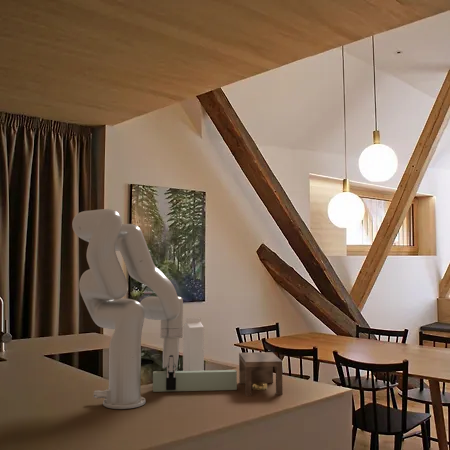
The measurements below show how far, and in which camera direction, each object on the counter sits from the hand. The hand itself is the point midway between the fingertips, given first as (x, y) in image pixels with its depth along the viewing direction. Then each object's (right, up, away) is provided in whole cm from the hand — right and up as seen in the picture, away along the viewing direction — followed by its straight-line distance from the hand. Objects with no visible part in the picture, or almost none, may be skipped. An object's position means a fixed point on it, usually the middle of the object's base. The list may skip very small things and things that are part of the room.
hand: (171, 388), depth 177 cm
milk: (+6, -3, +21) cm, 22 cm away
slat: (+8, -1, +1) cm, 8 cm away
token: (+30, -1, +3) cm, 30 cm away
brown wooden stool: (+30, -1, +3) cm, 30 cm away
